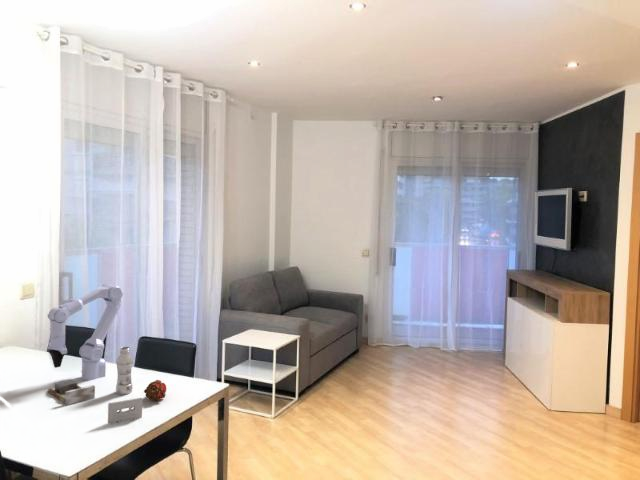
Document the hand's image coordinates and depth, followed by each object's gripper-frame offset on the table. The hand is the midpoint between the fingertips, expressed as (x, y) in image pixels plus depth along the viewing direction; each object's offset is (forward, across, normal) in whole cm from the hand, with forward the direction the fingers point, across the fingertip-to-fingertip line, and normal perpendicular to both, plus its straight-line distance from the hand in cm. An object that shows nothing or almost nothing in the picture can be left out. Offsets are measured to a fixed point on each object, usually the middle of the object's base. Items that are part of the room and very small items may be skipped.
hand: (57, 366), depth 210 cm
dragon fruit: (+10, +38, +24) cm, 46 cm away
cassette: (+10, +50, +5) cm, 51 cm away
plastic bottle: (+10, +26, +17) cm, 32 cm away
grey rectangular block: (+8, +9, 0) cm, 12 cm away
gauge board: (+9, +14, 0) cm, 16 cm away
